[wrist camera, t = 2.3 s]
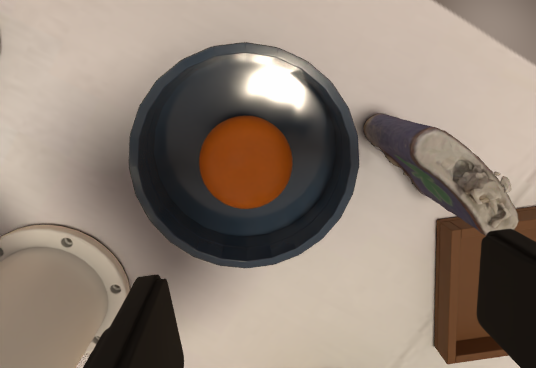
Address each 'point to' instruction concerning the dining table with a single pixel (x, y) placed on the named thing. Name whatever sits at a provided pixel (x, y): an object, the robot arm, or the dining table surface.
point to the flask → (445, 171)
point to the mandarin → (245, 162)
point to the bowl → (232, 105)
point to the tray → (464, 289)
